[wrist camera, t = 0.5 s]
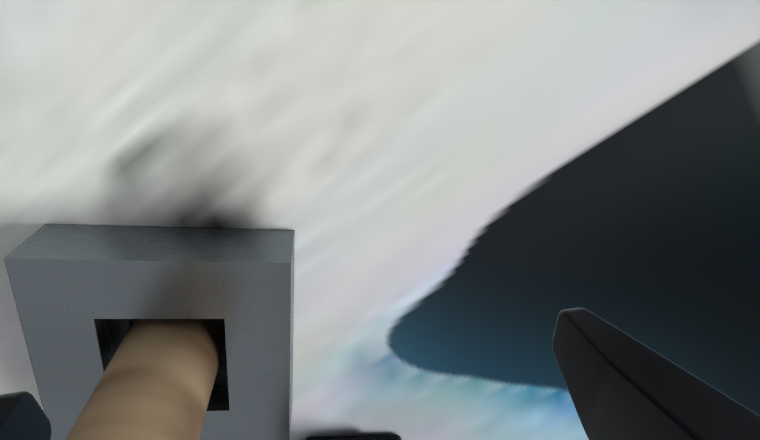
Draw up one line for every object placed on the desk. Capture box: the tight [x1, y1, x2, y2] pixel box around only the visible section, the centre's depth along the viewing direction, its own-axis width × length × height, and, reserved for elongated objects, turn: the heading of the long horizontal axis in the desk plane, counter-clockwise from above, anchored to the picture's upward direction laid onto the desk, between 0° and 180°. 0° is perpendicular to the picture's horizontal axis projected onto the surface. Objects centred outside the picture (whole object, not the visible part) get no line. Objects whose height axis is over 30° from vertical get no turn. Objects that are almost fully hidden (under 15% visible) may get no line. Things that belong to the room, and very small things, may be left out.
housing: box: [4, 224, 294, 440], centre depth 25 cm, size 12×12×4 cm
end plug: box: [65, 319, 226, 440], centre depth 21 cm, size 5×5×12 cm
